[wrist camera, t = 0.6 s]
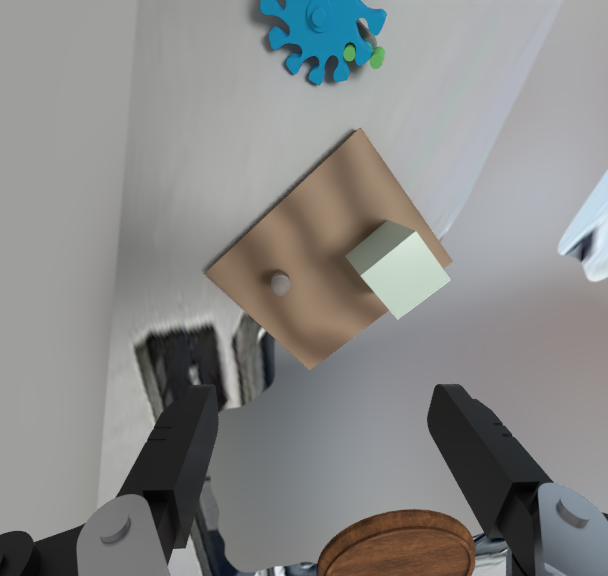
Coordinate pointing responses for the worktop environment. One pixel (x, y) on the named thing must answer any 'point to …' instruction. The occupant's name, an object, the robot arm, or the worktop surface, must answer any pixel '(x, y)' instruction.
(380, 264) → the pale green block
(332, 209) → the board
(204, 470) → the robot arm
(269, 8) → the gear
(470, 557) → the cutting board
